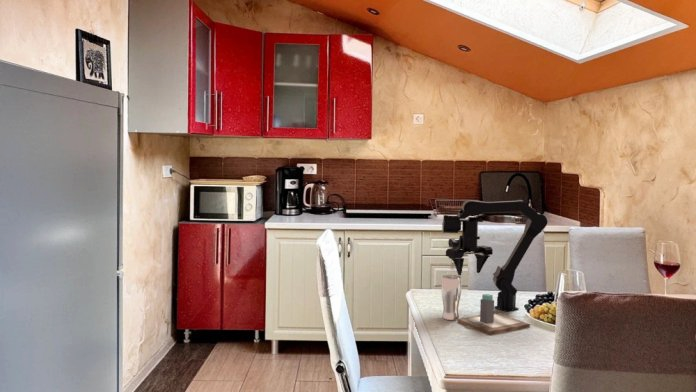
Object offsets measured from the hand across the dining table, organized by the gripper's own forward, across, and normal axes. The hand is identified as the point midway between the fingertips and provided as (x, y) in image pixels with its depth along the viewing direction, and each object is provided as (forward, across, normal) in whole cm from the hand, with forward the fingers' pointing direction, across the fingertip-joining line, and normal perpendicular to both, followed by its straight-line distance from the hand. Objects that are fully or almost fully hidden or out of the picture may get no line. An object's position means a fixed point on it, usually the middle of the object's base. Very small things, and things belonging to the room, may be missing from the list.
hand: (468, 274), depth 219 cm
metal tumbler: (+13, +15, +8) cm, 22 cm away
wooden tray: (+13, +7, +21) cm, 26 cm away
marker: (+12, +10, +21) cm, 26 cm away
